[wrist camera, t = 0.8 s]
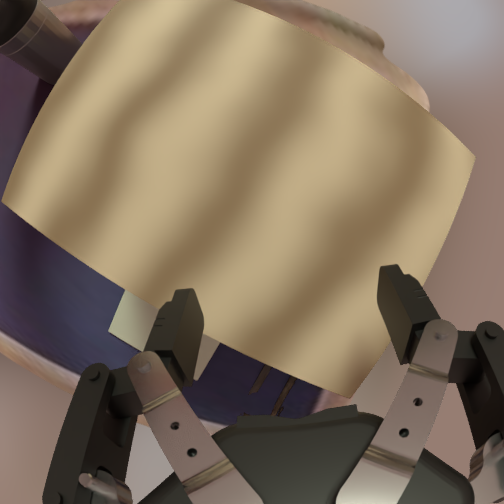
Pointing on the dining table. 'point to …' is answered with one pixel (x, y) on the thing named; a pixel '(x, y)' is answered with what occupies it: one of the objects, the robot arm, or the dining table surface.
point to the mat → (140, 324)
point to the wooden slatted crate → (242, 179)
